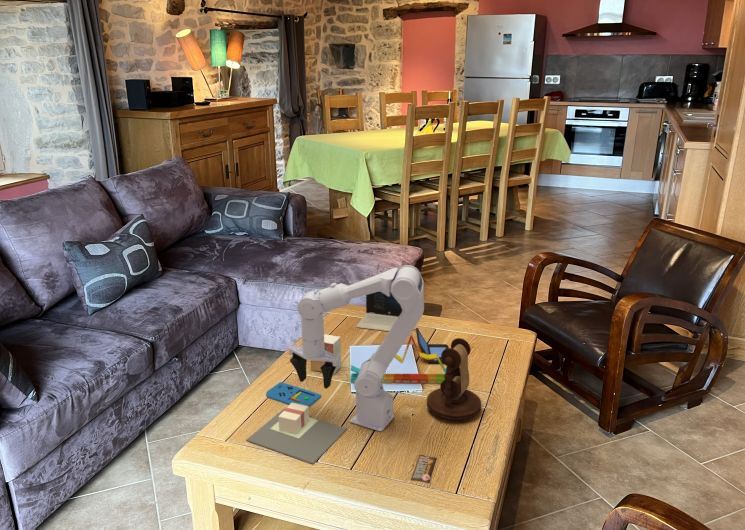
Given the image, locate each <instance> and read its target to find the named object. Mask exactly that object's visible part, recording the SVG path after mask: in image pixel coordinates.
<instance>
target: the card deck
mask: <svg viewBox="0 0 745 530" xmlns="http://www.w3.org/2000/svg"><path fill="white" fill-rule="evenodd" d="M309 408H310V407H308V406H305V405H301V404H296V403H291V404H290V405H288V406H287V407H285V408H284V409H285V410H284V411H283V412H282V413H281V414H280V415H279V430H282V431H287V432H291V433H295V434H297V433H298V432H299V430H300V429H301V428H302V427H303V426H304V425H305V423H306V422H307V421H308V420H309V417H310V411H309V410H310V409H309Z"/></svg>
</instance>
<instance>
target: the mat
mask: <svg viewBox="0 0 745 530" xmlns="http://www.w3.org/2000/svg"><path fill="white" fill-rule="evenodd" d="M285 409H286V408H283V409H281V410H280V411H279V412H278V413H277V414H276V415H274V416H273V417H272V418H271V419H269V420H268V421H267V422H266V423H265V424H264V425H262V426H261V427H260V428H258V429H257V430H256V431H255V432H254V433H253V434H251V435H250V436H249V437H248V438H246V439H245V440H246V442H249V443H252V444H254V445H257V446H260V447H262V448H265V449H268V450H270V451H274V452H276V453H278V454H281V455H284V456H288V457H291V458H293V459H297V460H299V461H302V462H305V463H308V464H310V465H314V464H315V463H316V462H317V461H318V460H319V459H320V458H321V457H322V456H323V455H324V454H325V453H326V452H327V451H328V450H329V449H330V448H331V447H332V446H333V445H334V444H335V443H336V441H338V440H339V439H340V437H341V436H343V434H344V433H345V432H347V430H348V428H347V427H343V426H342V425H341V426H340V425H337V424H334V423H331V422H328V421H325V420H321V419H319V418H315V417H312V416H309V420H308V421H307V422H306V423H305V425H304V426H303V427H302V428H301V429H300V430H299V432H298V433H297V434H295V433H291V432H287V431H282V430H279V415H280V414H281V413H282V412H283V411H284V410H285Z"/></svg>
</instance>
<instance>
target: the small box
mask: <svg viewBox="0 0 745 530" xmlns="http://www.w3.org/2000/svg"><path fill="white" fill-rule="evenodd" d="M324 347H325V350H326V351H328V352H330V353H331V354H333V355H335V356H338V357H340V363H339V364H338V365H337V367H336V369H335V371H334V373H333V376H334V375H335V374H336V373H337V372H338V370H339V369H341V367H342V337H341V336H338V335H337V336H336V335H330V334H327V333H324ZM324 364H325V362H322V361H311V360H310V370H311V371H316V372H320V373H322V371H321V369H320V367H321V366H323V365H324Z"/></svg>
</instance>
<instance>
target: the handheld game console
mask: <svg viewBox="0 0 745 530" xmlns="http://www.w3.org/2000/svg"><path fill="white" fill-rule="evenodd" d="M415 332H416V339H417V345H418V347H419V348H420V350H421V351H422V353H424V354H427V355H430V354H437V355H438V357H439V359H440V361H441V363H442V364H443V365H445V364H444V363H443V361H442V359H441V354H442V352H443V350H445V349H447V348H449V345H448V344H445V343H435V344H434V343H428V342H427V341H426V339H425V338H424V337H423V335H422V333H421V331H420V330H419V329H418V327H416V328H415ZM427 364H428V365H440V363H439V361H438V359H432V360H429V359H428V360H427Z"/></svg>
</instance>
